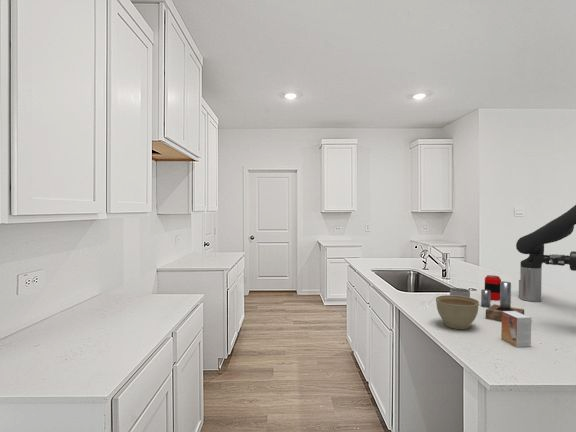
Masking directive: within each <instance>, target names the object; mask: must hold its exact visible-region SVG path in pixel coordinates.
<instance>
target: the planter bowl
mask: <svg viewBox="0 0 576 432" xmlns="http://www.w3.org/2000/svg"><path fill="white" fill-rule="evenodd" d="M435 302H436V309H437V313H438V315H439V317H441V320H442V321H443V323H444V326H446V327H447V328H451V329H454V330H455V329H456V330H468V329H469V328H470V327H471V325H472V323H473V322H474V321H475V319H476V317H477V315H478V312H479V305H480V301H479V300H477V299H475V298H473V297H471V296H470V297H465V296H457V295H450V294H446V295H445V294H443V295H439V296H436V297H435Z"/></svg>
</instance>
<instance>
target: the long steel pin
mask: <svg viewBox="0 0 576 432" xmlns="http://www.w3.org/2000/svg"><path fill="white" fill-rule="evenodd" d="M511 300H512V282H510V281H504V280H503V281H502V280H501V282H500V300H499V305H500V311H511V307H512V305H511V304H512V301H511Z"/></svg>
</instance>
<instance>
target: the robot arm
mask: <svg viewBox="0 0 576 432" xmlns="http://www.w3.org/2000/svg"><path fill="white" fill-rule="evenodd" d="M575 225H576V204H575V205H573V206H572V207H571V208H570V209H569V210H567V211H566V212H564V213H563V214H561V215H560V216H558V217H556V218H554V219H552V220H550V221H549V222H547V223H546V224H544V225H543V226H541V227H538V228H537V229H536V230H534V231H532V232H530V233H528V234H526V235H523V236H522V237H520V238H518V239H517V240H516V242H515V243H516V244H515V247H516V250H517V252H518V253H520V254H523V255H528V257H526V258H524V259H523V260H521V261H520V265H519V267H520V272H519V275H520V278H519V280H518V298H519V299H520V300H522V301H527V302H535V303H536V302H538V303H539V302H542V270H543V269H542V266H543V264H545V265H548V266H549V265H552V266H566V265H569V270H570V271H573V272H576V251H573V250H572V251H570V253H569V255H565V254H544V253H545V245H546V244H551V243H555V242H559V241H561V240H563V239H566V238H567V237H568V236H570V235H571V234H572V233H573V232H574V229H575Z"/></svg>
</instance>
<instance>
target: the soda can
mask: <svg viewBox="0 0 576 432" xmlns="http://www.w3.org/2000/svg"><path fill="white" fill-rule="evenodd" d="M500 282H502V279H501V277H500V276H498V275H494V274H493V275H492V274H490V275H486V276H485V277H484V289H486V290H490V291H491V301H500Z"/></svg>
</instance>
